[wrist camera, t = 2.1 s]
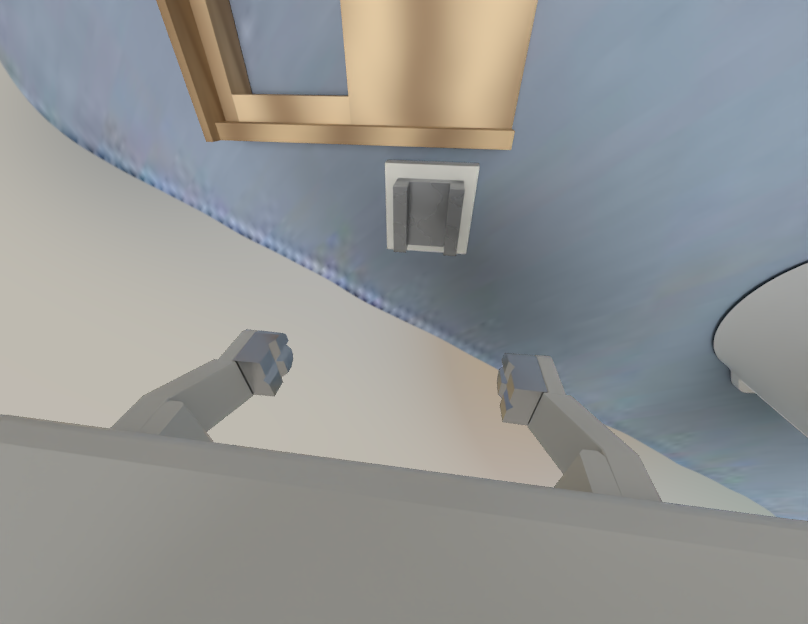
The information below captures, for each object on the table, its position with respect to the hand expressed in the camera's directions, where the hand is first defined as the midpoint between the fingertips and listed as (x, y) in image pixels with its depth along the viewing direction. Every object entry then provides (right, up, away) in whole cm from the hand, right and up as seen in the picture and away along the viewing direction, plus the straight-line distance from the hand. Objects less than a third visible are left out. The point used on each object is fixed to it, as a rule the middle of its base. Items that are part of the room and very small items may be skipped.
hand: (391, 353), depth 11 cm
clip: (+2, +10, +13) cm, 16 cm away
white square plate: (+3, +10, +14) cm, 17 cm away
